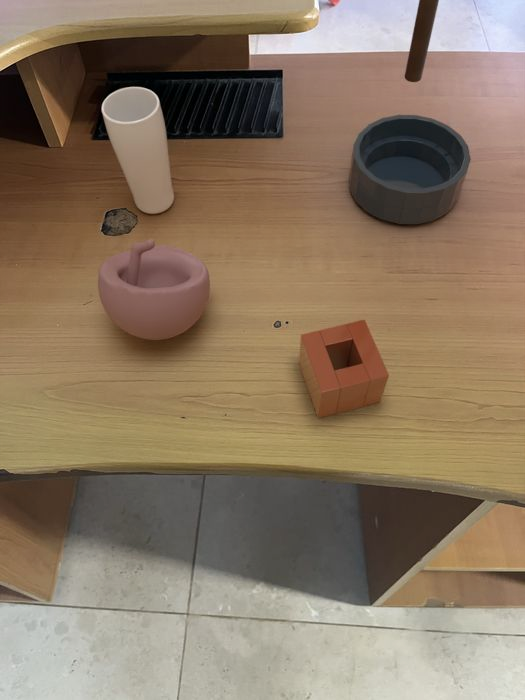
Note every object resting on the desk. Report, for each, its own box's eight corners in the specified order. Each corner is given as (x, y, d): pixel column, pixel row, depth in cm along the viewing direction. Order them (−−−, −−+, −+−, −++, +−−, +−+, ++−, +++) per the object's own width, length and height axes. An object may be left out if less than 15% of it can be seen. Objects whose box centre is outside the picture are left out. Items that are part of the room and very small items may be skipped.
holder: (358, 348, 65) (364, 318, 59) (380, 402, 61) (389, 375, 56) (298, 363, 64) (300, 334, 59) (318, 418, 60) (321, 392, 55)
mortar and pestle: (225, 283, 70) (216, 217, 60) (200, 367, 64) (185, 308, 54) (132, 269, 71) (109, 202, 62) (99, 350, 65) (67, 290, 56)
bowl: (431, 142, 82) (441, 105, 77) (476, 214, 75) (490, 178, 69) (334, 162, 80) (338, 126, 75) (370, 237, 73) (377, 203, 68)
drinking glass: (189, 205, 77) (170, 108, 64) (145, 227, 75) (117, 131, 62) (164, 177, 80) (142, 78, 67) (121, 197, 78) (90, 100, 65)
